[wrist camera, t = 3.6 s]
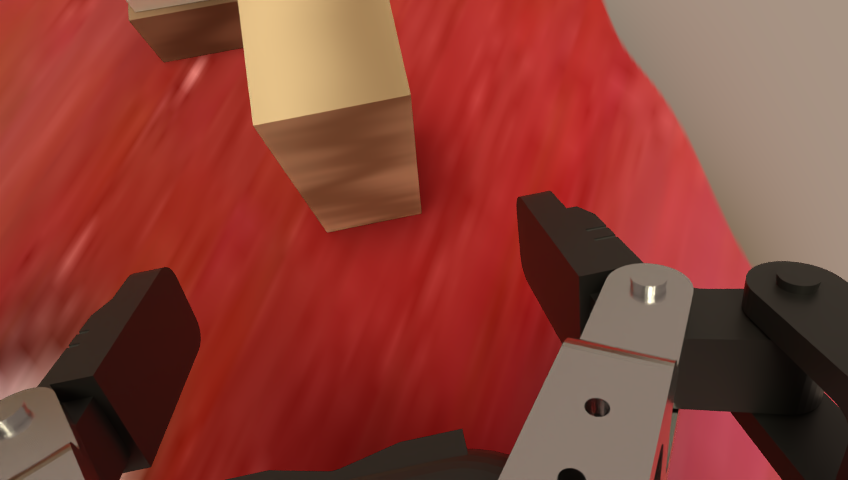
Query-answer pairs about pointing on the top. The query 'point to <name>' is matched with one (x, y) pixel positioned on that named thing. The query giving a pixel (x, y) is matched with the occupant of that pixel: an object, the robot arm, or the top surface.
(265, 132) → the pillar
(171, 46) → the slab base
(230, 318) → the top surface
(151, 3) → the slab top
